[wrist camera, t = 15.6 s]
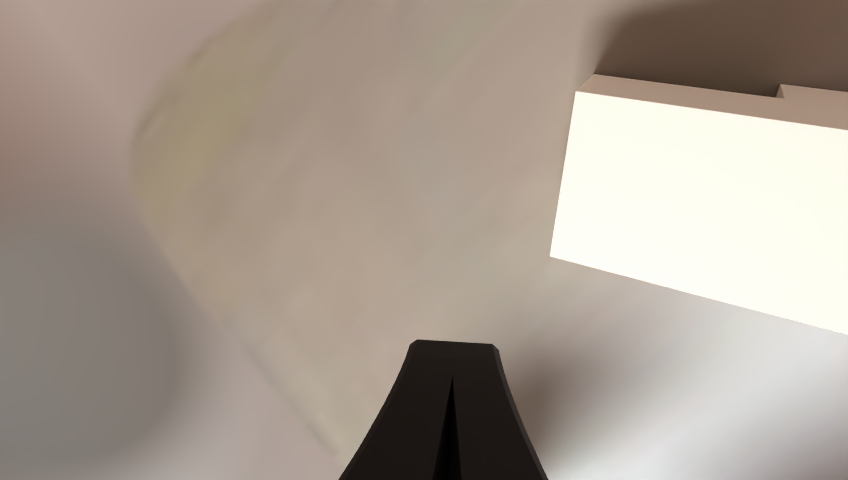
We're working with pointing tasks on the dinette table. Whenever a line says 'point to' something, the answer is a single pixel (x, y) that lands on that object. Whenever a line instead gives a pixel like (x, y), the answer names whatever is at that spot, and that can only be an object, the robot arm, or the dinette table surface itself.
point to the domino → (710, 195)
